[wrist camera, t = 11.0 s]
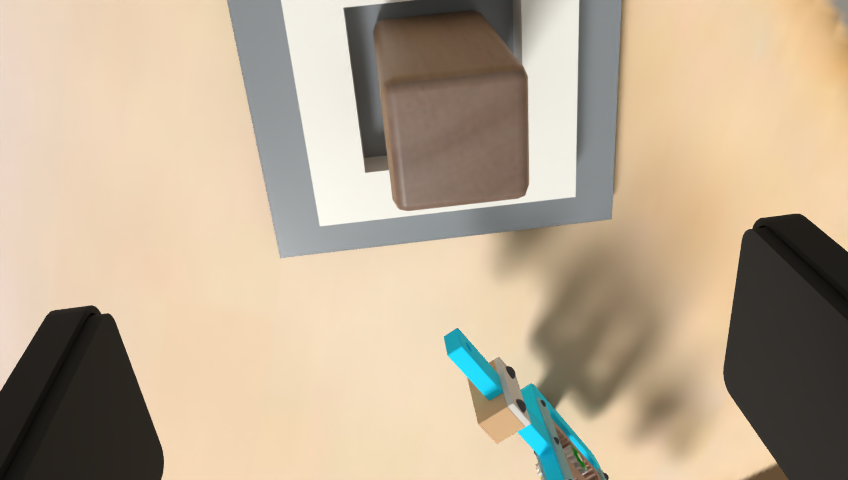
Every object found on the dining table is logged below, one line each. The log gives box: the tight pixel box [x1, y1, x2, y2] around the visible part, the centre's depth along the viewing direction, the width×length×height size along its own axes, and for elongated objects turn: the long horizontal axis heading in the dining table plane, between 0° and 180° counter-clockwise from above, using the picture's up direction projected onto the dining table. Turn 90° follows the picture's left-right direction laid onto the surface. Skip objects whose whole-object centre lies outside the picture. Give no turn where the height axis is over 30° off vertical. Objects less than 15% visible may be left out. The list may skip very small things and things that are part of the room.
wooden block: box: [373, 10, 529, 211], centre depth 24 cm, size 4×4×8 cm
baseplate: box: [227, 0, 622, 258], centre depth 27 cm, size 14×14×2 cm
